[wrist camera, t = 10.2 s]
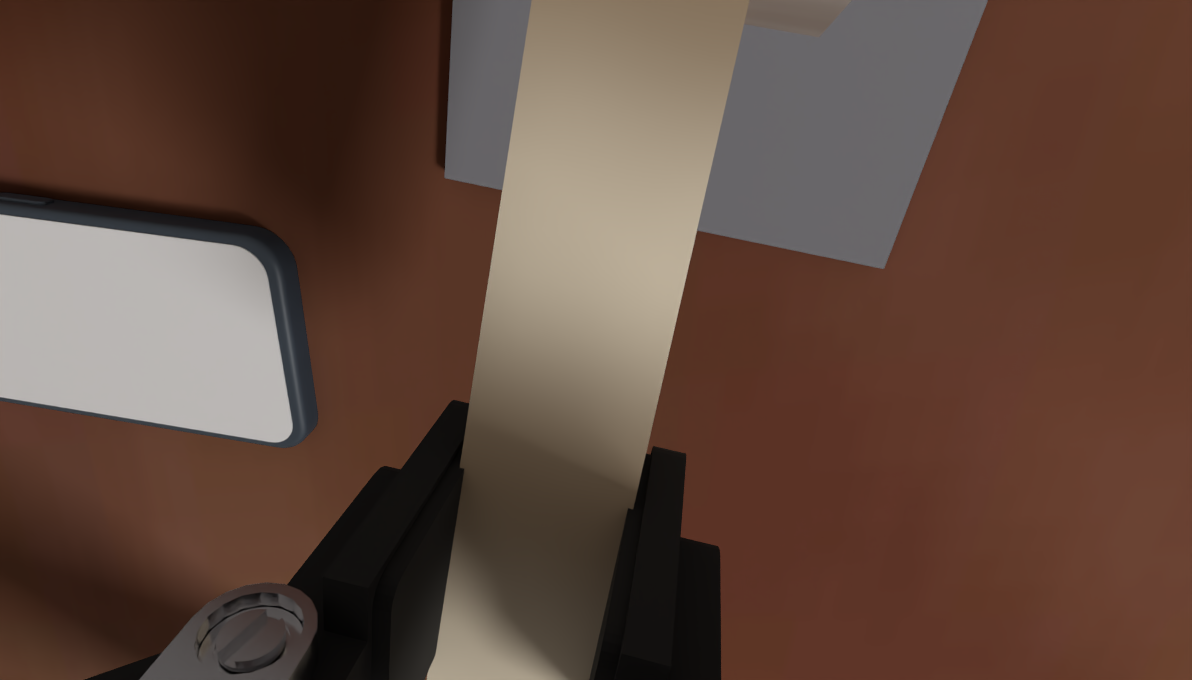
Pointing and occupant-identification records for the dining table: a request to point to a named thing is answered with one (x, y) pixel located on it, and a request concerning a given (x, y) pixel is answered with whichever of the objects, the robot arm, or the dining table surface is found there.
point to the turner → (583, 314)
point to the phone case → (153, 321)
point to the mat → (766, 119)
